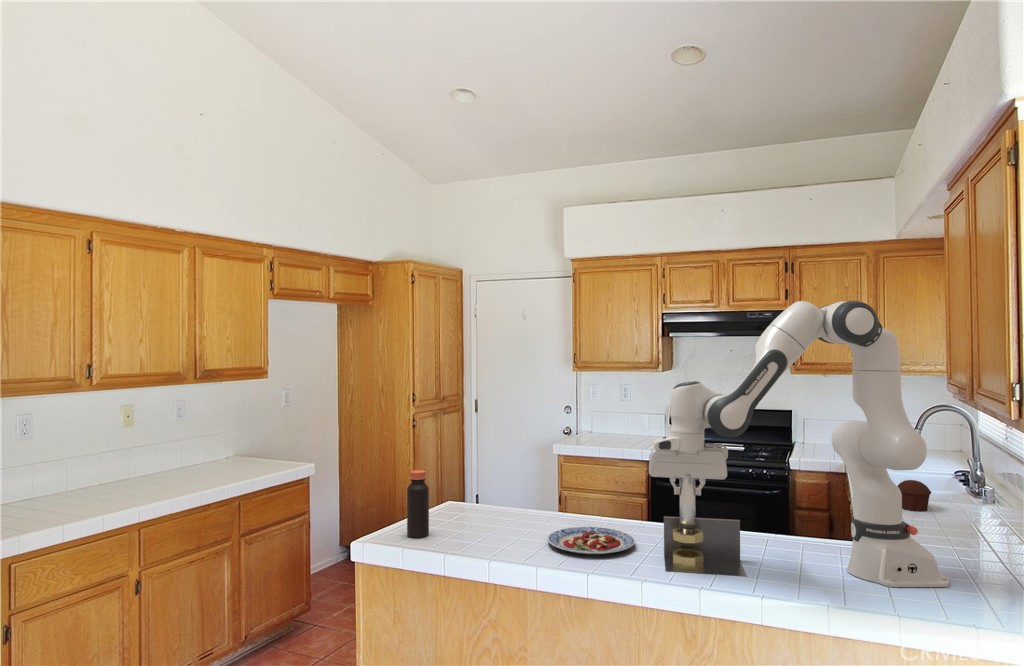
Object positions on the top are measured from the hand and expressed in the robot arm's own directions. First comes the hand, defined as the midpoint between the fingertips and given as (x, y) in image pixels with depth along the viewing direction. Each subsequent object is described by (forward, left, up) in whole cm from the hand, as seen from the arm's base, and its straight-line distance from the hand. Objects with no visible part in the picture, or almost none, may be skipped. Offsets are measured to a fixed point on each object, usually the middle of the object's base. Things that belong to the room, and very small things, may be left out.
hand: (687, 494), depth 175 cm
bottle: (+81, -16, -20) cm, 85 cm away
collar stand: (-4, 0, -20) cm, 20 cm away
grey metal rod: (0, 0, -11) cm, 11 cm away
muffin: (-84, -81, -20) cm, 118 cm away
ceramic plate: (+27, -16, -20) cm, 37 cm away
